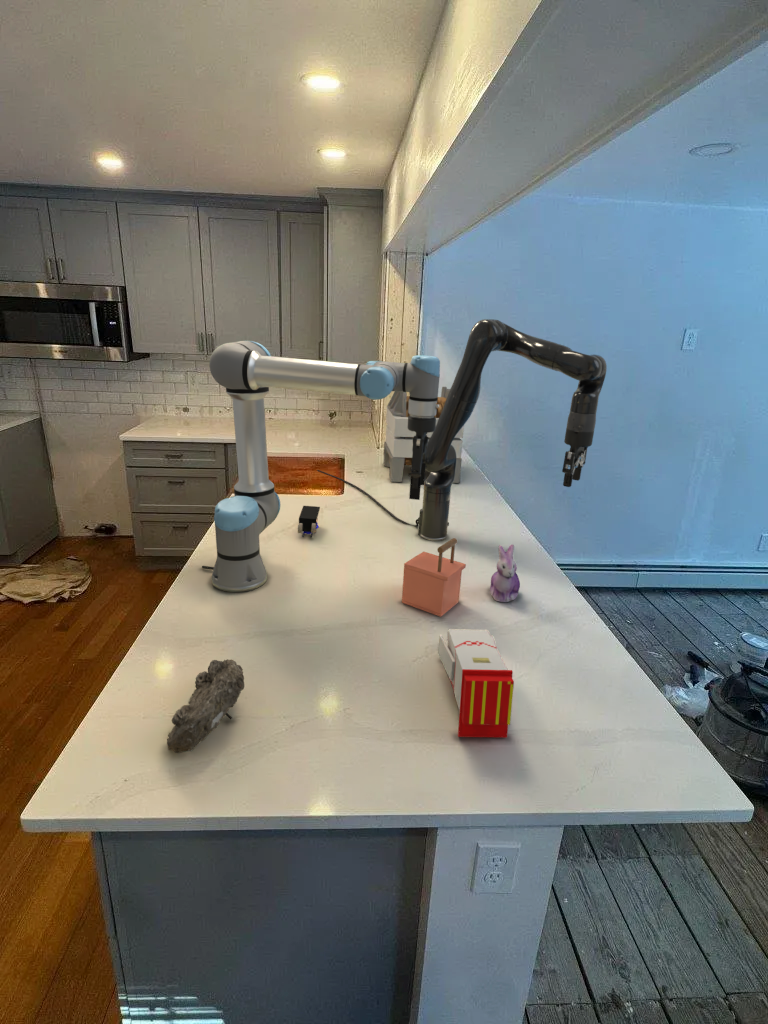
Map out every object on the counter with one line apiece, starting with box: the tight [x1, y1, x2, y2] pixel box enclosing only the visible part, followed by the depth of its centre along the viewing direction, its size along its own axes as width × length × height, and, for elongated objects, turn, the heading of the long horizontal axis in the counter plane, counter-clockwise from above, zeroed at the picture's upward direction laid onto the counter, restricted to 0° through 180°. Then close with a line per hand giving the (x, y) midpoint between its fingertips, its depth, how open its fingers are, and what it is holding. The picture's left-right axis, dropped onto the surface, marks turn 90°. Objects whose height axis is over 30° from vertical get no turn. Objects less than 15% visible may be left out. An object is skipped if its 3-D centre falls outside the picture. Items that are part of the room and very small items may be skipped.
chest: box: [401, 566, 463, 618], centre depth 152 cm, size 12×10×11 cm
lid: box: [403, 537, 467, 581], centre depth 149 cm, size 13×10×8 cm
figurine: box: [489, 544, 521, 603], centre depth 157 cm, size 9×10×15 cm
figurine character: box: [297, 505, 321, 538], centre depth 197 cm, size 7×8×15 cm
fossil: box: [166, 658, 245, 754], centre depth 106 cm, size 22×10×15 cm
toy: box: [437, 628, 515, 738], centre depth 117 cm, size 12×13×30 cm
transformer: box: [383, 386, 465, 484], centre depth 268 cm, size 34×33×41 cm
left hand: (417, 491), depth 158 cm, fingers open, 13 cm apart
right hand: (571, 483), depth 165 cm, fingers open, 8 cm apart
